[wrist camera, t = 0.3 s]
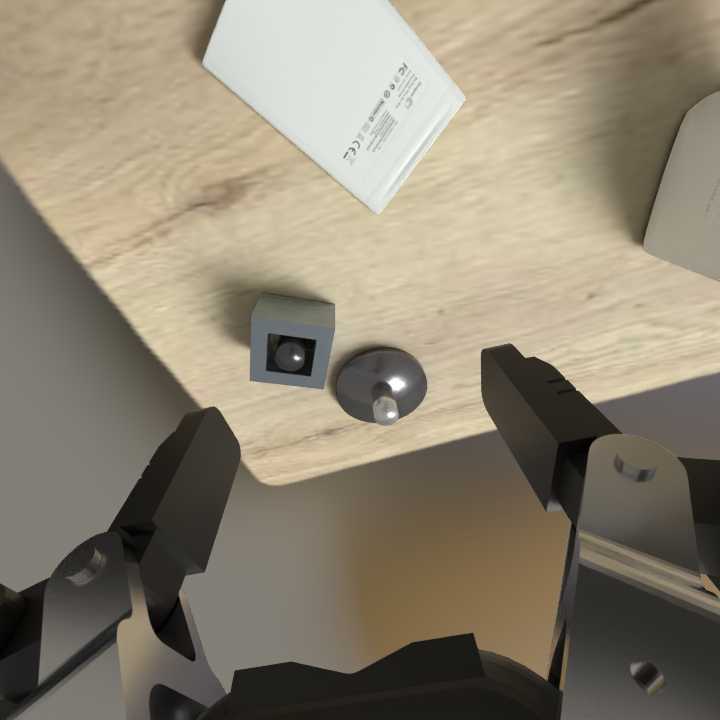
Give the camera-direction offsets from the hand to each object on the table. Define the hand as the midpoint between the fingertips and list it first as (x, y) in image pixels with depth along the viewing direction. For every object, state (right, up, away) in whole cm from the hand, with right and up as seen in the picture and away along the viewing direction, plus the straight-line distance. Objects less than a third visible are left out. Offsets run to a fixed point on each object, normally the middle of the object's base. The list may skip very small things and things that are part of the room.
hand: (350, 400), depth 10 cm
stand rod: (-5, +4, +18) cm, 20 cm away
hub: (+2, -1, +23) cm, 23 cm away
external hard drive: (-1, +18, +10) cm, 20 cm away
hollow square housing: (-5, +4, +18) cm, 20 cm away
